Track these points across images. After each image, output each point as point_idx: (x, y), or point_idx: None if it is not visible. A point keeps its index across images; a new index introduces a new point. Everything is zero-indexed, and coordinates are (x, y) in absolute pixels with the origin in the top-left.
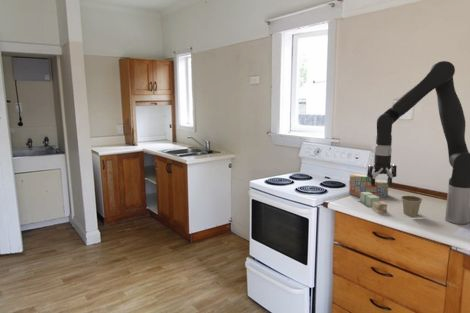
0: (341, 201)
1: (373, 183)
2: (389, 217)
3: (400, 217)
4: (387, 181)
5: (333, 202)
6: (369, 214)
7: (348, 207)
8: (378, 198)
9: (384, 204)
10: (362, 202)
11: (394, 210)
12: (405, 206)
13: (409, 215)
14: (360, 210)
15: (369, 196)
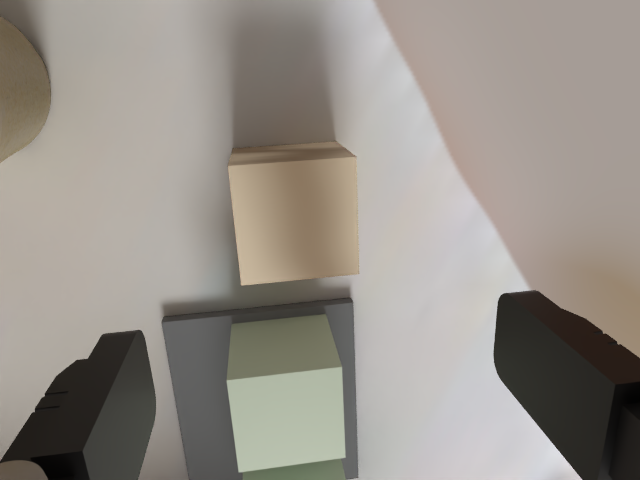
0: (482, 476)
1: (564, 318)
2: (259, 20)
3: (133, 6)
4: (141, 459)
5: (557, 452)
6: (419, 133)
7: None
8: (243, 372)
9: (266, 163)
10: None
11: (105, 237)
12: (4, 51)
13: (6, 22)
14: (444, 251)
15: (327, 422)
